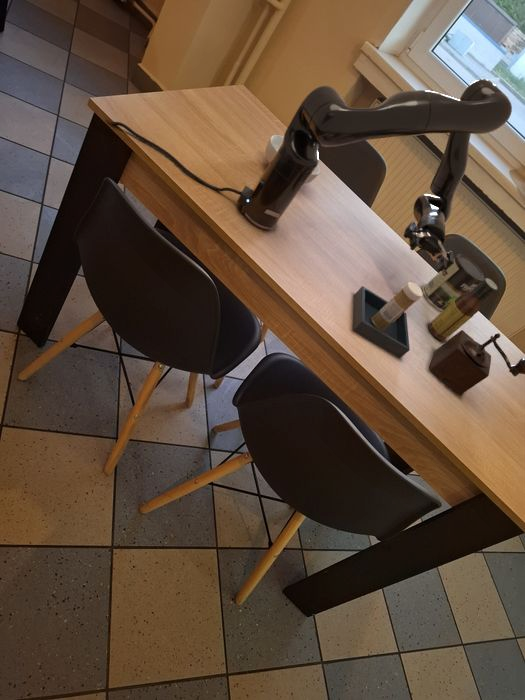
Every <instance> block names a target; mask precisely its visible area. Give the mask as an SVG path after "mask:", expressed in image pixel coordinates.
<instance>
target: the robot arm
mask: <svg viewBox="0 0 525 700" xmlns="http://www.w3.org/2000/svg"><path fill="white" fill-rule="evenodd" d="M512 112H513V106H512V102H511V100H510V99H509V97H508V96H507V95H506V93H504V92H503V91H502V90H501V89H500V88H498V86H497V85H496V84H494V83H493V82H492V81H491V80H490V79H487V78H480V79H476V80H475V81H473V82H472V83H470V84H469V85H468V86H467V87H466V88H465V90H464V91H463V92H462V94H461V96H460V98H459V99H457V98H454V97H451V96H449V95H445V94H443V93H439V92H436V91H431V90H423V89H419V90H418V89H417V90H401V91H398V92H396V93H393V94H392V95H390V96H389V97H387V98H386V99H385V100H383V101H382V102H381V103H380V104H379V105H376V106H374V107H373V106H372V107H359V108H358V107H350V106H348V105H347V103H346V101H345V100H344V99H343V98H342V96H341V94H340V93H339V92H338V91H337V90H336V88H334V87H333V86H331V85H321V86H317V87H315V88H314V89H313V90H311V91H310V92H309V93H308V94H307V95H306V96H305V97H304V99H303V100H302V101H301V103H300V105H299V106H298V108H297V109H296V111H295V114H294V116H293V117H292V118H291V120H290V122H289V124H288V126H287V128H286V130H285V132H284V135H283V136H284V139H283V143H282V145H281V146H280V148H279V150H278V151H277V153H276V154H275V156H274V158H273V159H272V161H271V162H270V164H269V163H268V165H267V167H266V169H265V170H264V171H263V172H262V173H261V174H260V176H259V178H258V180H257V181H256V183H255V184H254V186H253V187H252V188H250V187H248V186H247V185H245V186H244V187H243V189H242V191H240V190H237V189H235V188H231V187H216V186H214V185H211V184H209V183H208V182H206V181H204V180H203V179H201V178H200V177H199V176H197V175H196V174H194V173H193V172H191V170H189V169H188V168H186V167H185V166H184V165H183V164H182V163H181V162H180V161H179V160H178V159H177V158H176V157H175V156H173V155H172V154H171V153H170V152H168V151H167V150H166V149H164V148H162V146H159V145H158V144H156V143H155V142H153V141H150V140H149V139H147V138H145V137H144V136H142V135H140V134H138V133H137V132H136V131H134V130H133V129H132V128H131V127H130V126H128V125H127V124H125V123H123V122H120V121H112V122H109V124H110V125H111V126H120V127H122V128H124V129H125V130H127V131H128V132H129V133H130V134H132V135H133V136H134V137H136V138H137V139H139V140H141V141H142V142H144V143H146V144H148V145H150V146H152V147H153V148H155V149H157V150H158V151H159V152H161V153H163V154H164V155H165V156H167V157H168V158H170V159H171V160H172V161H173V162H174V163H175V164H176V165H177V166H178V167H179V168H181V170H183V172H185V173H186V174H187V175H189V176H190V177H192V178H193V179H195V180H196V181H198V182H199V183H201V184H202V185H203V186H205V187H206V188H209V189H211V190H213V191H217V192H225V191H227V192H231V193H235V194H237V195H239V196H238V199H237V203H238V204H240V205H241V206H242V207H241V210H240V213H241V214H243V215H244V217H245V218H246V219H247V220H248V221H249V222H250V223H251V224H253V225H254V226H255V227H258V228H260V229H262V230H266V231H270V230H273V229H274V228H275V227H276V225H277V224H278V222H279V221H280V219H281V218H282V216H283V215H284V213H285V212H286V211H287V210H288V208H289V207H290V205H291V203H292V202H293V201H294V200H295V198H296V196H297V195H298V194H299V192H300V191H301V190H302V188H303V187H304V185H306V184H305V182H306V181H307V179H308V178H309V177H310V175H311V174H312V172H313V171H314V170H315V168H316V167H317V165H319V161H320V156H319V155H320V154H319V146H322V147H326V148H327V147H328V148H330V147H332V148H333V147H339V146H345V145H350V144H354V143H358V142H362V141H369V140H377V139H386V138H387V139H388V138H399V137H400V138H401V137H402V138H403V137H415V136H423V135H424V136H425V135H438V134H449V135H448V138H447V142H446V146H445V148H444V152H443V155H442V156H441V157H442V158H441V160H440V163H439V165H438V167H437V169H436V171H435V174H434V176H433V178H432V180H431V182H430V185H429V189H430V192H431V193H432V194H433V195H432V194H428V193H424V194H423V193H422V194H421V195H419V196H418V197H417V198H416V199H415V201H414V204H413V210H412V211H413V216H414V219H415V220H416V222H417V223H416V222H415V221H411V222H410V223H409V224H408V225H407V226H406V227H405V229H404V232H403V237H404V238H405V239H408V242H409V243H408V245H409V250H411V251H414V250H415V249H416V248H417V247H418V248H419V250H422V251H424V252H426V253H427V254H428V255H429V256H430V258H431V260H432V261H435V262H436V271H437V272H438V273H439V272H440V271H443V270H444V269H445V270H447V269H448V268H449V267H450V266H451V265H453V264H454V258H455V257H454V253H453V251H451V250H449V251H446V249H445V247H444V243H445V240H446V222H447V221H448V220H449V219H450V216H451V214H452V209H453V201H454V197H455V194H456V191H457V190H458V187H459V186H460V184H461V182H462V180H463V177H464V176H465V174H466V170H467V166H468V160H469V148H470V147H469V146H470V139H471V135H472V134H473V135H484V134H489V133H493V132H494V131H497V130H499V129H500V128H501V127H502V126H504V125H505V124H506V123H507V122H508V121H509V119H510V118H511V115H512Z"/></svg>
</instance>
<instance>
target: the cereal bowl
mask: <svg viewBox="0 0 525 700" xmlns="http://www.w3.org/2000/svg"><path fill="white" fill-rule="evenodd" d="M283 139H284V135H279V134H274V135H272V136H271V137H270V138H269V140H268V141H267V144H266V147H265V158H266V160H267V162H268V165H269V164H270V162H271V161H272V159H273V158H274V156H275V154H276V153H277V151H278V150H279V148H280V146H281V145H282V143H283ZM320 171H321V169H320V165H319V164H318V165H317V167H316V168H315V170H314V171H313V172H312V174H311V175H310V177H309V178H308V179H307V181H306V182H305V184H304V185H308V184H310V183H312V182H313V181H314V180H315V179H316V178H317V176H319V174H320Z"/></svg>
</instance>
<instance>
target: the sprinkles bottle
mask: <svg viewBox="0 0 525 700" xmlns="http://www.w3.org/2000/svg"><path fill="white" fill-rule="evenodd" d="M422 297H424V294H423V291H422V289H421V288H420V286H419V285H418V284H417V283H415V282H413V281H408V282H406V284H405V285H403V286H402V288H401V289H400V291H398V292H397V293H396V294H395V295H394V296H392V298H391V299H389V301H387V302H388V303H387V304H386V305H385V306H384V307H383V308H381V309H380V311H379V312H378V313H377V314H376V315H375V316H373V317H372V318H371V321H372V324H373V325H374V327H376V328H377V329H379V330H380V331H384V330H386V328H387V327H388V326H389V325H390V324H392V323H393V322H394V321H395V320H396V319H398V318H399V317H400V316H401V315H402V313H404V312H405V313H406V311H407V310H408V309H410V307H412V306H413V304H415V303H416V302H418V301H419V300H421V298H422Z"/></svg>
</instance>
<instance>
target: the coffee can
mask: <svg viewBox="0 0 525 700" xmlns="http://www.w3.org/2000/svg"><path fill="white" fill-rule="evenodd" d="M453 258H454V264H453V265H451V266H450V267H449V268H448V269H447V270H445V269H444V270H443V271H440V272H439V271H438V273H437V274H436V275H434V276H433V277H432V278H431V279H430V280H429V281H427V283H426V284H425V285H424V286H422V289H421V290H422V293H423V297H424V298H425V299H426V300H427V302H428V303H429V304H430V305H431V306H432V307H433V308H434V309H436V310H438V311H439V312H443V311H444V310H445V309H446V308H447V307H448V306H449V305H450V304H451V303H452V302H454V301H455V300H456V299H457V298H458V297H460V296H461V295H463V294H465V293H468V292H470V291H472V290H474V289H475V288H476V287H477V286H479V285H480V284H481V282H482V281H483V280H484V279H486V278H485V275H484V273H483V271H482V270H481V269H480V267H479V266H478V265H477V264H476V263H475V262H474V260H473V259H471V258H469V257H468V256H466V255H464V254H462V253H457V255H456V256H454V257H453Z"/></svg>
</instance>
